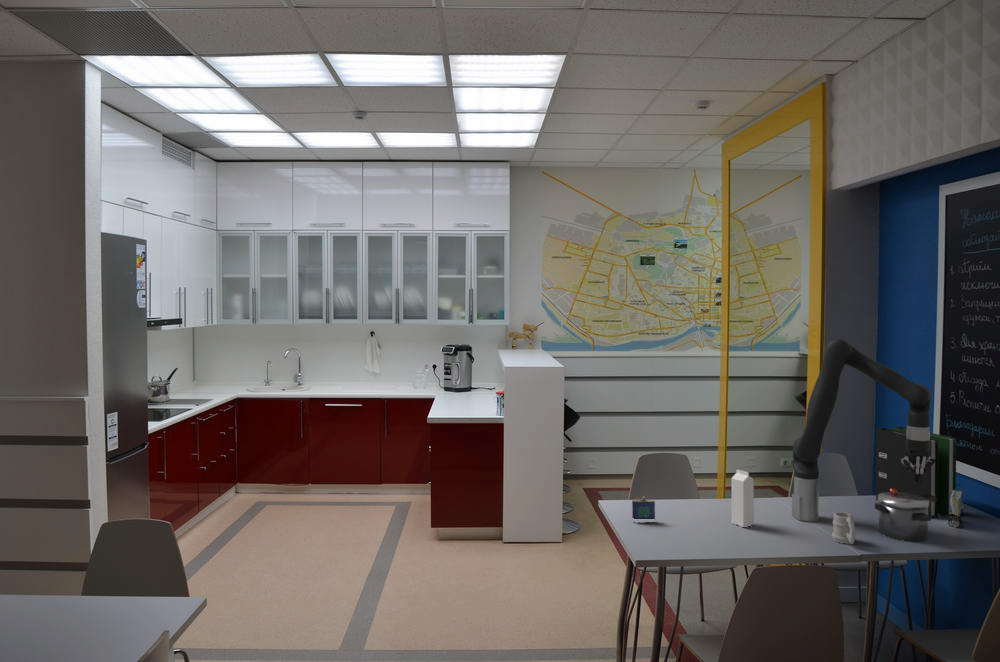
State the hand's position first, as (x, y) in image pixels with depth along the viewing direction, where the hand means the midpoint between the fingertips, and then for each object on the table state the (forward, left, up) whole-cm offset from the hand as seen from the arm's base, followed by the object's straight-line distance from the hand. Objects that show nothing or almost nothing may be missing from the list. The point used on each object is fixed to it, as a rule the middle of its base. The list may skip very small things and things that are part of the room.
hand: (917, 483), depth 250 cm
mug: (-31, -6, -20) cm, 38 cm away
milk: (-60, +17, -20) cm, 66 cm away
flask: (-98, +25, -20) cm, 104 cm away
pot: (-5, 0, -20) cm, 20 cm away
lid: (-4, 0, -7) cm, 8 cm away
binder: (+21, +30, -20) cm, 41 cm away
